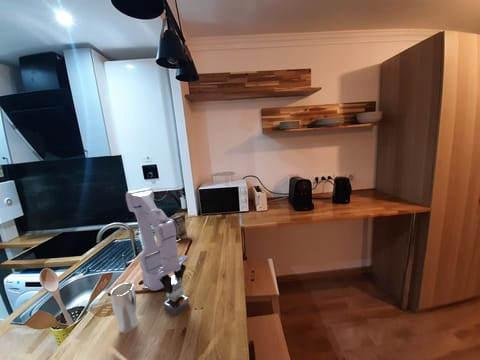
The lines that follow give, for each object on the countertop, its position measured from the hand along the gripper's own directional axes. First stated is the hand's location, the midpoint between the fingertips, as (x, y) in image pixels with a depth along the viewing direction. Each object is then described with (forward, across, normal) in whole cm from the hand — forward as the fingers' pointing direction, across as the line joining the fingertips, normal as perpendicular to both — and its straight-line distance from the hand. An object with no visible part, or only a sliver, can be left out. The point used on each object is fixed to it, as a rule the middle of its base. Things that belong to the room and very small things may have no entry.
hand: (174, 288), depth 74 cm
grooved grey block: (+3, 0, 0) cm, 3 cm away
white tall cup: (+9, -13, +9) cm, 18 cm away
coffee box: (+9, +43, +46) cm, 64 cm away
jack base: (+9, 0, 0) cm, 9 cm away
